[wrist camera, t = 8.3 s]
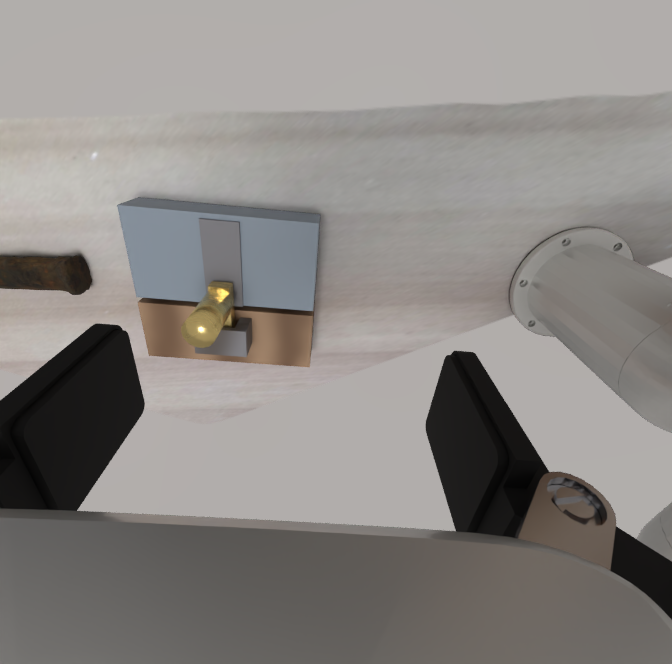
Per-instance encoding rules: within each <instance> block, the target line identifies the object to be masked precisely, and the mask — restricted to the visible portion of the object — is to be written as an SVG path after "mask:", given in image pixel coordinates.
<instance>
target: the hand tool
mask: <svg viewBox="0 0 672 664" xmlns="http://www.w3.org/2000/svg"><path fill="white" fill-rule="evenodd" d="M91 282H92V279H91V276H90V271H89V268H88V265H87V263H86V261H85V259H84V258H83V257H81V256H74V257H60V256H59V257H57V258H42V257H23V258H22V257H15V256H13V257H0V288H5V289H30V290H61V291H67V292H69V293H70V294H72V295H80V294H82V293H84V292H85V291H86V290H89V288H90V284H91Z"/></svg>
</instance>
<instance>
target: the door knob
mask: <svg viewBox="0 0 672 664" xmlns="http://www.w3.org/2000/svg"><path fill="white" fill-rule="evenodd" d="M222 327H228V328H235V311H234V294H233V283H229V282H217V281H212V282H211V283H210V284H209V286H208V292H207V294H206V295H205V296H204V297H203V299H202V300H201V301H200V303H199V304H198V305H197V306H196V308H195V309H194V310H193V312H192V313H191V314H190V315H189V317H188V318H187V319H186V321H185V322H184V323H183V325H182V327H181V333H182V336H183V338H184V339H185V340H186V342H188V343H189V344H190V345H192V346H195V347H199V348H205V347H209V346H211V345H212V344H213V343H214V342H215V340H216V338H217V336H218V334H219V333H220V331H221V329H222Z"/></svg>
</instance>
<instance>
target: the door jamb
mask: <svg viewBox="0 0 672 664" xmlns="http://www.w3.org/2000/svg"><path fill="white" fill-rule="evenodd" d="M199 303H200V302H192V301H180V300H168V299H155V298H142V299H141V300H140V301H139V302H138V306H139V311H140V315H141V320H142V325H143V330H144V334H145V339H146V344H147V348H148V353H149V356H162V357H176V358H190V359H204V360H217V361H231V362H245V363H259V364H273V365H286V366H300V367H310V357H311V348H312V333H313V318H314V308H313V311H304V310H292V309H280V308H267V307H255V306H243V307H238V306H234V311H235V328H228V327H222V329H221V331H220V333H219V334H218V336H217V338H216V340H215V342H214V343H213V344H212V345H211V346H209V347H205V348H199V347H195V346H192V345H190V344H189V343H188V342H186V340H185V339H184V338H183V336H182V333H181V327H182V325H183V323H184V322H185V321H186V319H187V318H188V317H189V315H190V314H191V313H192V312H193V310H194V309H195V308H196V306H197V305H198V304H199ZM314 303H315V300H314Z"/></svg>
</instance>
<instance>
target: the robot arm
mask: <svg viewBox="0 0 672 664" xmlns="http://www.w3.org/2000/svg"><path fill="white" fill-rule="evenodd" d="M510 305H511V309H512V311H513V313H514V315H515V317H516V318H517V319H518V321H519V322H520V323H521V324H522V325H523V326H524V327H525V328H526V329H528V330H530V331H532V332H534V333H536V334H540V335H543V336H553V337H555V336H556V337H557V338H558V339H559V340H560V341H561V342H562V343H563V344H564V345H565V346H566V347H567V348H568V349H570V351H572V352H573V353H574V354H575V355H576V356H577V357H578V358H579V359H580V360H581V361H582V362H583V363H584V364H585V365H586V366H587V367H589V368H590V369H591V370H592V371H593V372H594V373H595V374H596V375H597V376H598V377H599V378H600V379H601V380H602V381H603V382H604V383H605V384H606V385H608V386H609V387H610V388H611V389H612V390H613V391H614V392H615V393H616V394H617V395H618V396H619V397H620V398H622V399H623V400H624V401H625V402H626V403H627V404H628V405H629V406H630V407H631V408H632V409H633V410H635V412H637V413H638V414H639V415H640V416H641V417H643V418H644V419H645V420H647V421H649V422H650V423H652V424H653V425H655V426H657V427H659V428H661V429H663V430H666V431H668V432H671V433H672V278H670V277H668V276H665V275H664V274H661V273H659V272H657V271H655V270H652V269H650V268H648V267H646V266H643V265H641V264H639V263H637V262H634V259H633V256H632V252H631V250H630V248H629V246H628V245H627V243H626V242H625V241H624V240H623V239H621V238H620V237H619V236H618V235H615V234H613V233H611V232H609V231H606V230H603V229H600V228H591V227H585V228H575V229H572V230H568V231H564V232H562V233H560V234H557V235H555V236H553V237H551V238H549V239H548V240H546V241H545V242H543V243H542V244H540V245H539V246H538V247H537V248H535V249H534V250H533V251H532V252H531V253H530V254H529V255H528V256H527V257H526V259H525V260H524V261H523V262H522V264H521V265H520V267H519V268H518V270H517V271H516V274H515V276H514V278H513V281H512V284H511V289H510ZM144 404H145V403H144V398H143V394H142V390H141V385H140V381H139V377H138V373H137V369H136V364H135V360H134V356H133V352H132V348H131V344H130V339H129V335H128V333H127V332H126V331H123V330H122V328H121V327H120V326H118V325H110V324H94V325H93V326H91V327H90V328H89V329H88V330H87V331H85V332H84V333H83V334H82V335H80V336H79V337H78V338H77V339H75V340H74V341H73V342H72V343H71V344H69V345H68V346H67V347H66V348H64V349H63V350H62V351H61V352H59V353H58V354H57V355H56V356H55V357H53V358H52V359H51V360H50V361H48V362H47V363H46V364H45V365H43V366H42V367H41V368H40V369H39V370H37V371H36V372H35V373H34V374H32V375H31V376H30V377H29V378H28V379H26V380H25V381H24V382H23V383H21V384H20V385H19V386H18V387H17V388H15V389H14V390H13V391H12V392H10V393H9V394H8V395H7V396H5V397H4V398H3V399H2V400H0V664H672V503H670V504H669V505H668V506H667V507H666V508H664V509H663V510H662V511H661V512H660V513H658V514H657V515H656V516H655V517H654V518H653V519H652V520H651V521H650V522H648V523H647V524H646V525H645V526H644V528H643V529H642V530H641V532H640V533H639V535H638V537H637V539H635V538H634V537H632V536H630V535H629V534H627V533H626V532H624V531H622V530H621V529H619V528H618V527H616V517H615V513H614V511H613V509H612V507H611V505H610V503H609V502H608V501H607V500H606V498H605V497H604V496H603V495H602V494H601V493H600V492H599V491H598V490H596V489H595V488H594V487H593V486H592V485H590V484H588V483H587V482H585V481H584V480H582V479H580V478H578V477H575V476H573V475H571V474H567V473H563V472H549V471H548V469H547V468H546V466H545V465H544V463H543V461H542V460H541V458H540V456H539V455H538V453H537V452H536V450H535V448H534V447H533V445H532V444H531V442H530V440H529V439H528V437H527V436H526V434H525V432H524V431H523V429H522V428H521V426H520V424H519V423H518V421H517V419H516V418H515V417H514V415H513V413H512V411H511V410H510V408H509V407H508V405H507V404H506V402H505V401H504V399H503V397H502V396H501V395H500V393H499V391H498V389H497V388H496V386H495V385H494V383H493V382H492V380H491V378H490V377H489V375H488V373H487V372H486V370H485V369H484V367H483V366H482V364H481V362H480V361H479V359H478V357H477V356H476V354H475V353H473V352H463V351H454V352H453V353H452V354H451V355H447V356H446V357H445V360H444V363H443V366H442V370H441V373H440V377H439V380H438V383H437V386H436V390H435V393H434V397H433V400H432V403H431V407H430V410H429V413H428V417H427V420H426V433H427V436H428V440H429V443H430V446H431V450H432V453H433V456H434V459H435V463H436V466H437V469H438V472H439V476H440V479H441V483H442V486H443V489H444V493H445V496H446V499H447V503H448V506H449V509H450V513H451V516H452V519H453V523H454V526H455V529H456V531H442V530H429V529H415V528H398V527H381V526H363V525H346V524H329V523H311V522H292V521H273V520H254V519H253V520H252V519H234V518H214V517H195V516H175V515H152V514H131V513H110V512H108V513H107V512H88V511H87V512H86V511H77V509H78V508H79V507H80V505H81V504H82V502H83V501H84V499H85V498H86V496H87V495H88V493H89V492H90V490H91V489H92V487H93V486H94V484H95V483H96V481H97V480H98V478H99V477H100V475H101V474H102V473H103V471H104V470H105V468H106V466H107V465H108V464H109V462H110V460H111V459H112V458H113V456H114V455H115V453H116V452H117V450H118V449H119V447H120V446H121V444H122V443H123V441H124V440H125V438H126V437H127V436H128V434H129V433H130V431H131V429H132V428H133V427H134V425H135V424H136V422H137V421H138V419H139V418H140V416H141V415H142V413H143V410H144Z"/></svg>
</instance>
